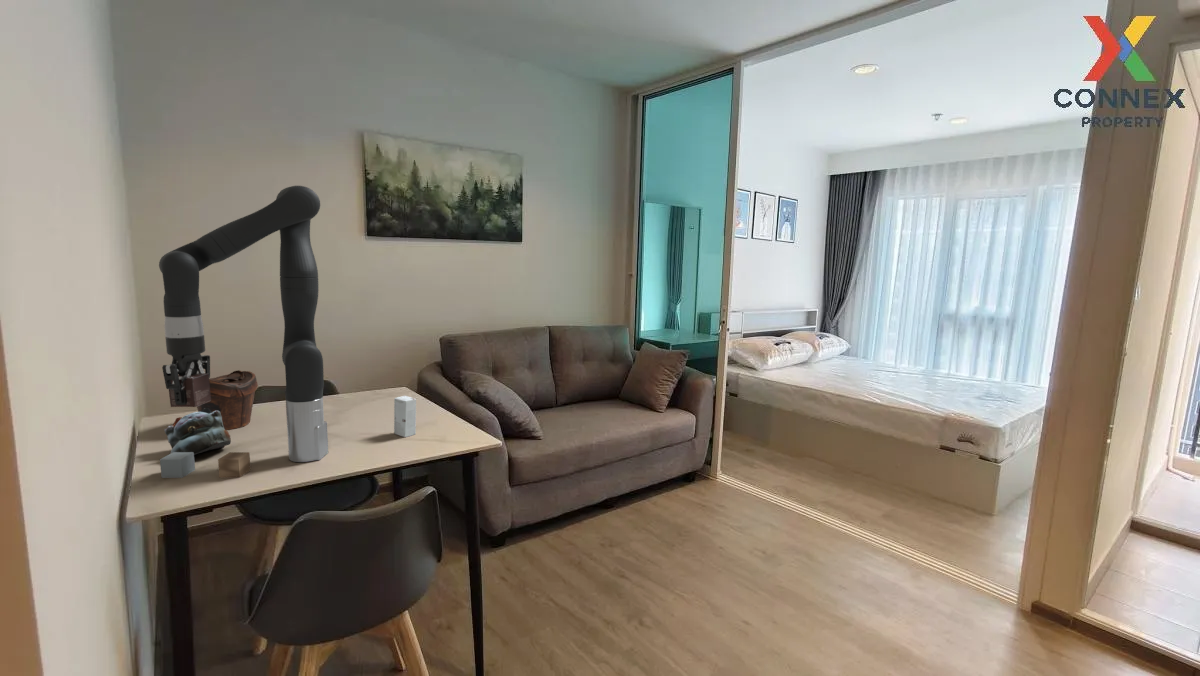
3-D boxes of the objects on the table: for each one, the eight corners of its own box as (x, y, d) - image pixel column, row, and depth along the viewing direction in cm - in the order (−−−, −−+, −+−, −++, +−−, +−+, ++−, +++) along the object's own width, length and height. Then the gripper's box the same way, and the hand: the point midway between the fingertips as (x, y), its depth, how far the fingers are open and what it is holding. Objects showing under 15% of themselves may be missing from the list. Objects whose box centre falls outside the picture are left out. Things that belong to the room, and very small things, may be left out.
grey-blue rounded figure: (162, 465, 145) (149, 417, 147) (183, 466, 156) (170, 421, 158) (225, 444, 150) (211, 397, 152) (240, 446, 161) (227, 403, 163)
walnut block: (250, 470, 144) (249, 452, 143) (239, 477, 139) (238, 459, 139) (230, 470, 144) (229, 452, 143) (219, 477, 139) (217, 459, 138)
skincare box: (393, 433, 176) (392, 397, 174) (405, 430, 180) (404, 395, 178) (405, 437, 172) (404, 401, 171) (417, 434, 176) (416, 398, 174)
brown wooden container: (266, 413, 192) (262, 364, 189) (252, 431, 174) (247, 377, 171) (207, 418, 186) (201, 367, 183) (186, 437, 168) (179, 381, 165)
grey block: (195, 470, 143) (193, 452, 142) (182, 477, 138) (180, 459, 137) (175, 470, 143) (173, 452, 142) (161, 478, 138) (159, 459, 137)
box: (211, 401, 137) (209, 373, 136) (195, 408, 131) (192, 378, 130) (187, 400, 137) (184, 372, 136) (169, 407, 131) (166, 378, 130)
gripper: (181, 339, 125) (187, 409, 127) (219, 330, 139) (224, 393, 141) (146, 338, 124) (153, 409, 127) (188, 329, 138) (193, 393, 141)
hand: (190, 400), depth 134 cm, fingers closed on box, 6 cm apart
